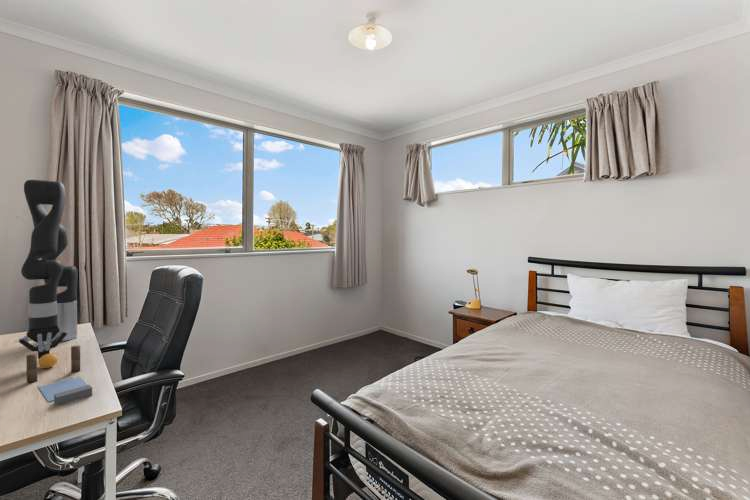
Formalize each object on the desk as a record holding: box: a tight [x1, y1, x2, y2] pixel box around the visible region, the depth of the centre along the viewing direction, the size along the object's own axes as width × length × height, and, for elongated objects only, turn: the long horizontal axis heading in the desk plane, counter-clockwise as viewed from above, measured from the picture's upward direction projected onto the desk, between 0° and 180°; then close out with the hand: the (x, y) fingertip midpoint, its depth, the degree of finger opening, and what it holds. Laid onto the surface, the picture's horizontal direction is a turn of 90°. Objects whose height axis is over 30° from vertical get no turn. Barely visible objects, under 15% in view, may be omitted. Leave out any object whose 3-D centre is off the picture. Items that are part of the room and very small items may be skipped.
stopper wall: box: [53, 384, 93, 407], centre depth 98 cm, size 3×8×2 cm, turn 145°
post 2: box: [70, 344, 81, 373], centre depth 116 cm, size 2×2×9 cm
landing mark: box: [38, 376, 88, 403], centre depth 104 cm, size 14×10×1 cm
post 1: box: [25, 353, 38, 384], centre depth 107 cm, size 2×2×9 cm
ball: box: [37, 353, 59, 369], centre depth 118 cm, size 5×5×5 cm
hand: (43, 360), depth 120 cm, fingers closed
